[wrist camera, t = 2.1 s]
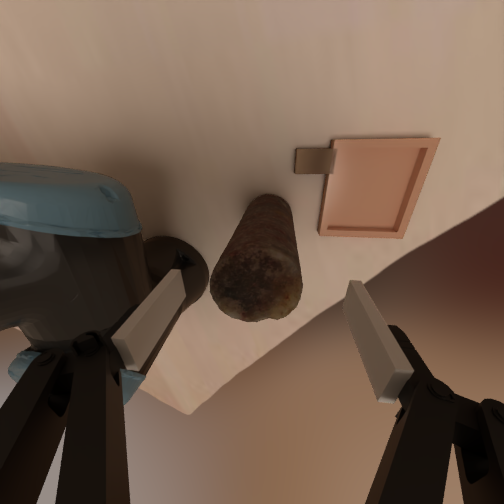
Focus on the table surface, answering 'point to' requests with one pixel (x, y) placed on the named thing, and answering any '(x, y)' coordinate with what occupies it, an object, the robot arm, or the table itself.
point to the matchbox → (314, 161)
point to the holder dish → (374, 186)
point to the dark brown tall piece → (259, 264)
